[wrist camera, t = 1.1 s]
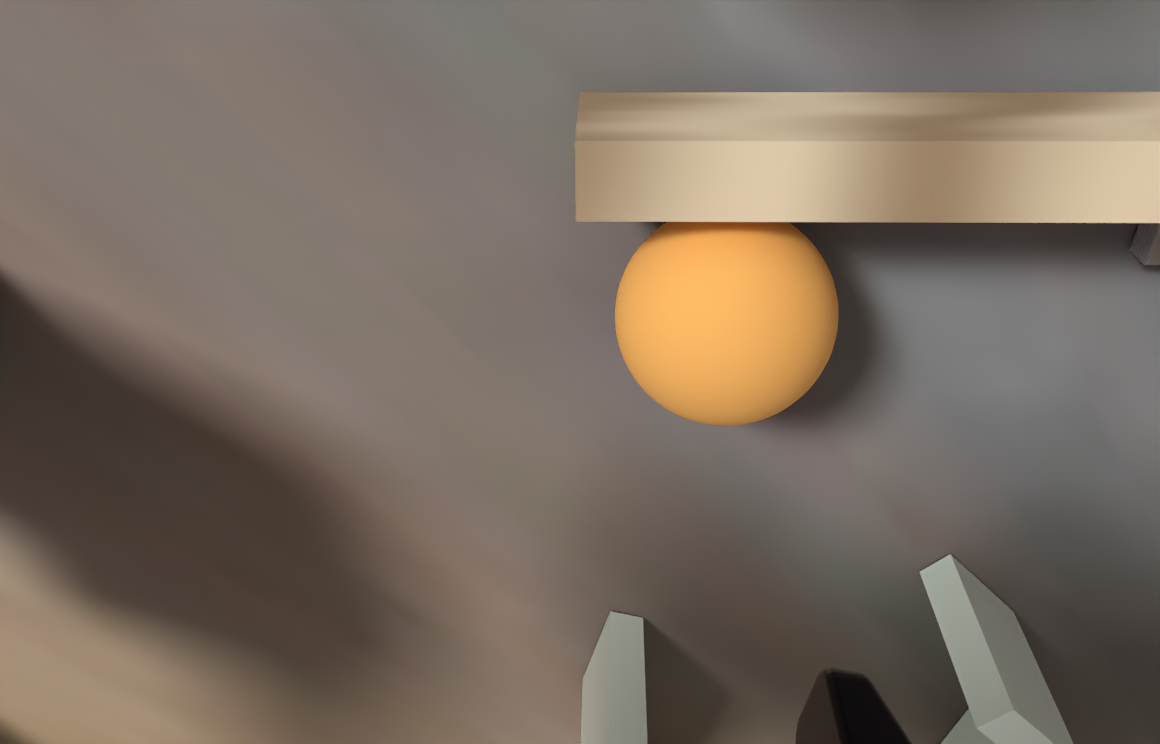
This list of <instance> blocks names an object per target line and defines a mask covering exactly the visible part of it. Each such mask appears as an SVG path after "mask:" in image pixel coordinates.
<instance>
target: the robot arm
mask: <svg viewBox="0 0 1160 744" xmlns="http://www.w3.org/2000/svg"><path fill="white" fill-rule="evenodd" d="M796 744H912V743H911V742H910V740H909V739H908V737H907V736H906V734H905V732H904V731H903V729H902V728H901V726H900V725H899V723H898V722H897V720H896V719H895V717H894V716H893V714H892V713H891V711H890V710H889V708H888V707H887V705H886V704H885V702H884V700H883V699H882V697H881V696H880V694H879V693H878V691H877V690H876V688H875V687H874V685H873V684H872V682H871V681H870V680H869V679H868V678H867V677H866V676H865V675H863V674H861V673H858V672H852V671H845V670H839V669H833V668H826V669H824V670H822V671H821V672H820V674H819V675H818V677H817V679H816V681H815V683H814V686H813V688H812V690H811V692H810V695H809V697H808V699H807V701H806V703H805V706H804V708H803V710H802V712H801V715H800V717H799V721H798V725H797V732H796Z"/></svg>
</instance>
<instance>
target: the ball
mask: <svg viewBox="0 0 1160 744" xmlns="http://www.w3.org/2000/svg"><path fill="white" fill-rule="evenodd" d="M838 318H839V311H838V298H837V294H836V289H835V285H834V281H833V278H832V275H831V273H830V270H829V268H828V266H827V264H826V262H825V261H824V259H823V257H822V256H821V254H820V252H819V251H818V249H817V248H816V247H815V246H814V244H813V243H812V242H811V241H810V240H809V239H808V238H807V237H806V236H805V235H804V234H803V233H802V232H801V231H800V230H798V229H797V228H796V227H795V226H793V225H792V224H790V223H789V222H666V223H664V224H663V225H662V226H660V227H659V228H658V229H657V230H655V231H654V232H653V233H652V234H651V235H650V236H649V237H648V238H647V239H646V240H645V241H644V242H643V243H642V244H641V246H640V247H639V248H638V249H637V251H636V252H635V253H634V255H633V256H632V258H631V260H630V261H629V263H628V265H627V267H626V269H625V272H624V274H623V277H622V279H621V282H620V285H619V289H618V293H617V298H616V307H615V326H616V334H617V339H618V344H619V347H620V350H621V353H622V355H623V358H624V360H625V363H626V365H627V367H628V369H629V370H630V372H631V374H632V375H633V377H634V378H635V380H636V381H637V382H638V383H639V385H640V386H641V387H642V389H643V390H644V391H645V392H646V393H647V394H648V395H649V396H650V397H651V398H653V399H654V400H655V401H656V402H658V403H659V404H660V405H662V406H663V407H664V408H666V409H667V410H669V411H671V412H673V413H675V414H676V415H679V416H681V417H684V418H686V419H689V420H692V421H696V422H699V423H703V424H709V425H718V426H734V425H743V424H749V423H753V422H757V421H760V420H763V419H766V418H768V417H771V416H773V415H775V414H777V413H779V412H781V411H783V410H784V409H786V408H787V407H789V406H790V405H792V404H793V403H794V402H795V401H797V400H798V399H799V398H800V397H802V396H803V395H804V394H805V393H806V392H807V391H808V390H809V389H810V388H811V387H812V385H813V384H814V383H815V382H816V380H817V379H818V378H819V376H820V374H821V373H822V371H823V369H824V368H825V366H826V364H827V362H828V360H829V358H830V355H831V353H832V350H833V347H834V343H835V339H836V335H837V330H838Z"/></svg>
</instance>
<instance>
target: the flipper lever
mask: <svg viewBox="0 0 1160 744" xmlns="http://www.w3.org/2000/svg"><path fill="white" fill-rule="evenodd" d="M575 193H576V222H931V223H1160V92H605V93H579V100H578V111H577V122H576V133H575Z"/></svg>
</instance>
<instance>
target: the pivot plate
mask: <svg viewBox="0 0 1160 744" xmlns="http://www.w3.org/2000/svg"><path fill="white" fill-rule="evenodd" d="M1130 251H1131V252H1132V253H1133V254H1134V255H1135V256H1136V257H1137V258H1138V259H1139V260H1140V261H1141V262H1142V263H1143V264H1144V265H1160V223H1139V225H1138V227H1137V230H1136V233H1135V236H1134V239H1133V242H1132V245H1131V247H1130Z"/></svg>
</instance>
